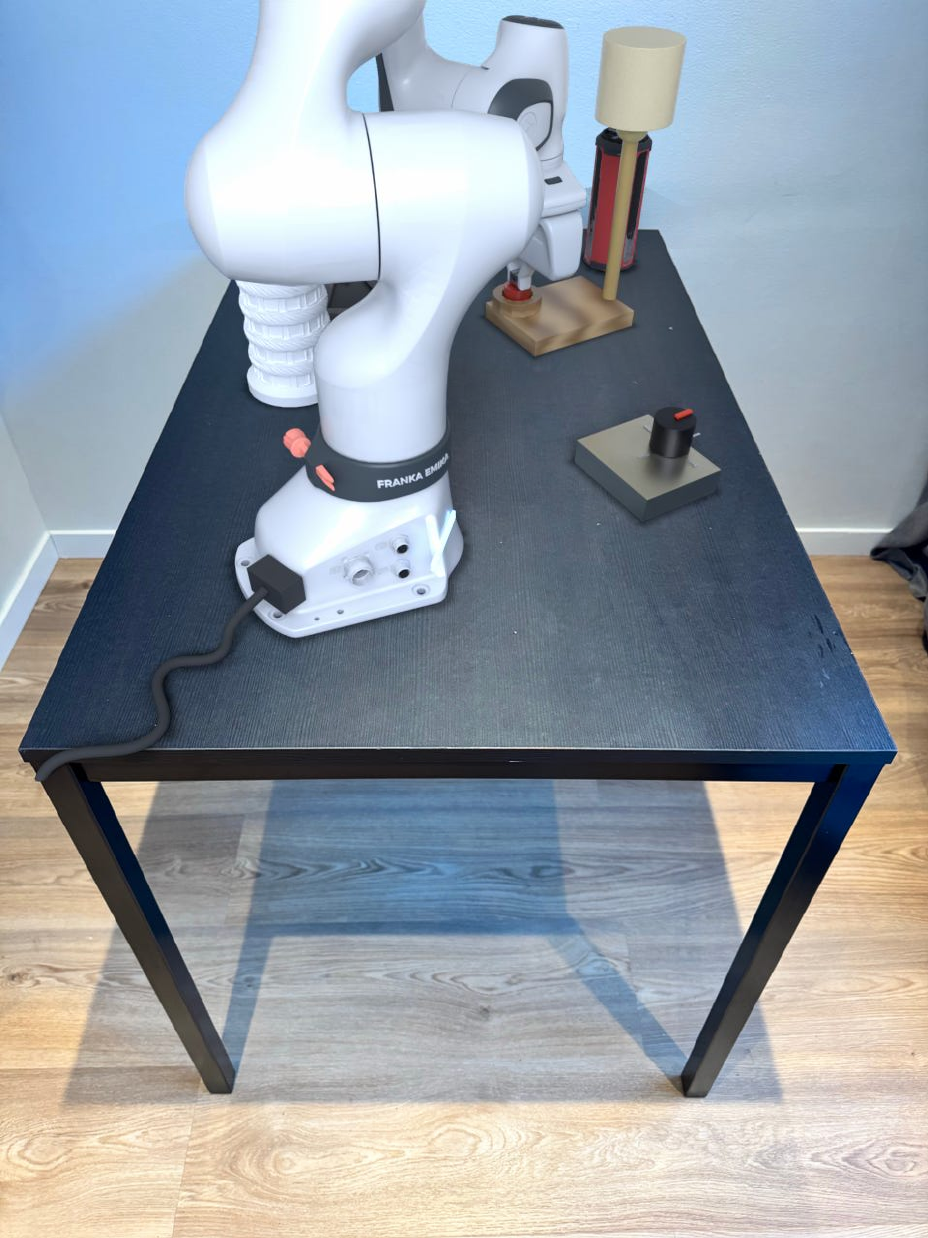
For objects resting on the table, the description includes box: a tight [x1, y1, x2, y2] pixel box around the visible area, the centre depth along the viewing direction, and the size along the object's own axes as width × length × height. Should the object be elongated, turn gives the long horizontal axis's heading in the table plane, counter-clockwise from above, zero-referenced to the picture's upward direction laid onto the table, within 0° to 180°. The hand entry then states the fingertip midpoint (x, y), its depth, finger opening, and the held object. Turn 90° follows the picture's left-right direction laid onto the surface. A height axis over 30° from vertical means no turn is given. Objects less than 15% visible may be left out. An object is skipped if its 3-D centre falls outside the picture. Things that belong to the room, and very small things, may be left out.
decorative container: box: [234, 280, 331, 408], centre depth 102 cm, size 12×12×18 cm
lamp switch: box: [503, 280, 531, 301], centre depth 117 cm, size 4×4×2 cm
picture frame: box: [324, 280, 378, 323], centre depth 124 cm, size 16×2×21 cm
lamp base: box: [485, 275, 635, 357], centre depth 118 cm, size 16×12×4 cm
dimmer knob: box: [649, 406, 698, 458], centre depth 93 cm, size 4×4×4 cm
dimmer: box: [574, 413, 722, 523], centre depth 95 cm, size 12×12×3 cm
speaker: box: [582, 127, 653, 272], centre depth 126 cm, size 8×8×18 cm
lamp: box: [594, 25, 688, 300], centre depth 106 cm, size 9×9×30 cm
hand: (518, 285), depth 116 cm, fingers closed, pressing on lamp switch
